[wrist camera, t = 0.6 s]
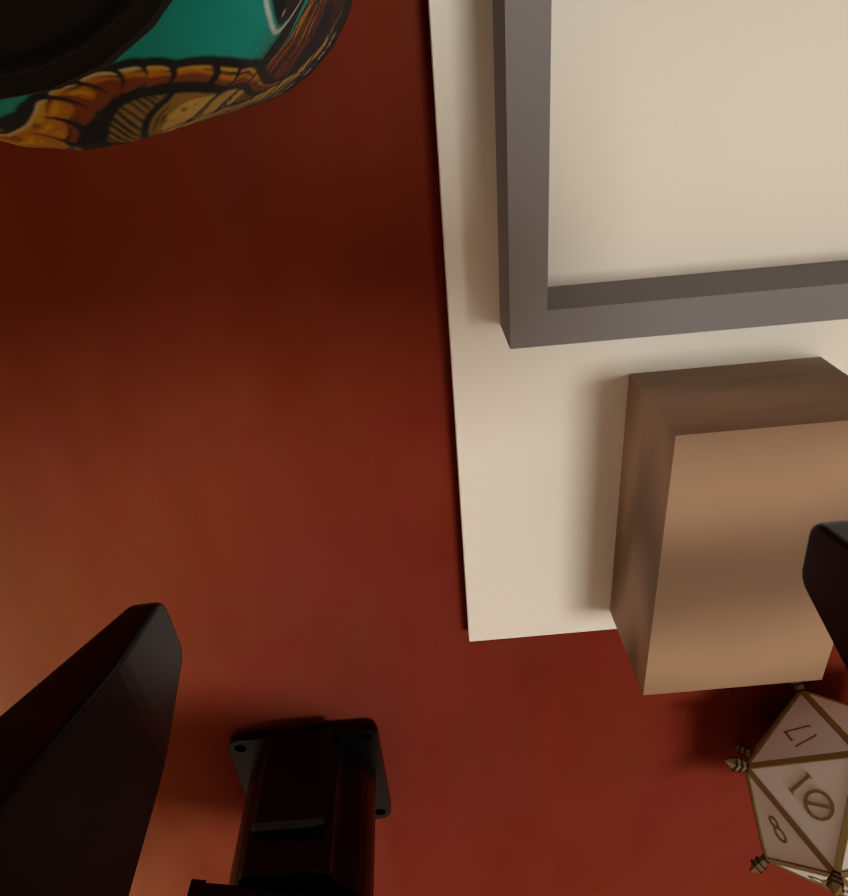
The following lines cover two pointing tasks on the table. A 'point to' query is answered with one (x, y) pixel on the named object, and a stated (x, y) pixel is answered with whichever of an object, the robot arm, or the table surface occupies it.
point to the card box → (726, 521)
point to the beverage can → (149, 63)
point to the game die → (802, 790)
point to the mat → (620, 251)
